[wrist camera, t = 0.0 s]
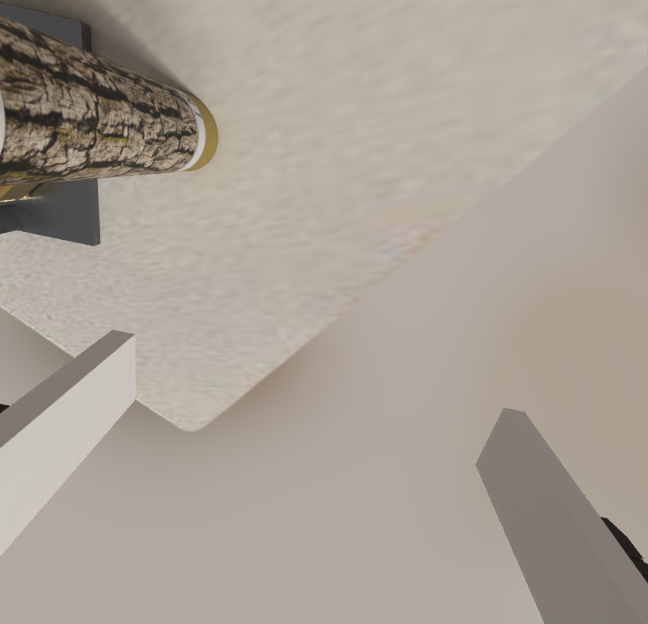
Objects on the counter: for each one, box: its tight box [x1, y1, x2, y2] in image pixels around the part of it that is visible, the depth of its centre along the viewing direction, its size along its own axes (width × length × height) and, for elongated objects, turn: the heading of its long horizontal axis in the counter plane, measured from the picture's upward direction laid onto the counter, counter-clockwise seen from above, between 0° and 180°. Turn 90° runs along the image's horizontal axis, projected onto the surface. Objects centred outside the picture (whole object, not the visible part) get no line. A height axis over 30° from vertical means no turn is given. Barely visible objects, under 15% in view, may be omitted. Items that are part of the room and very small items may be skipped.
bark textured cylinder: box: [0, 15, 218, 186], centre depth 24 cm, size 7×7×25 cm
